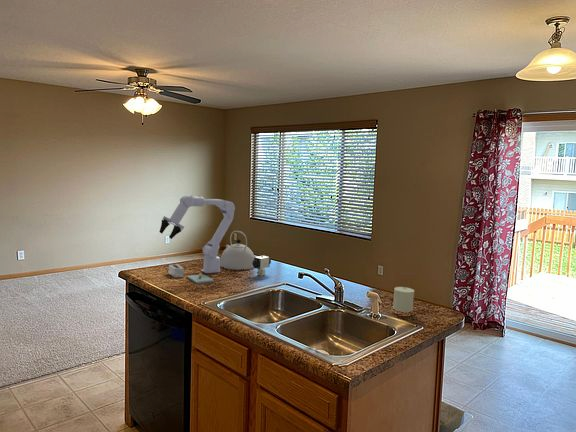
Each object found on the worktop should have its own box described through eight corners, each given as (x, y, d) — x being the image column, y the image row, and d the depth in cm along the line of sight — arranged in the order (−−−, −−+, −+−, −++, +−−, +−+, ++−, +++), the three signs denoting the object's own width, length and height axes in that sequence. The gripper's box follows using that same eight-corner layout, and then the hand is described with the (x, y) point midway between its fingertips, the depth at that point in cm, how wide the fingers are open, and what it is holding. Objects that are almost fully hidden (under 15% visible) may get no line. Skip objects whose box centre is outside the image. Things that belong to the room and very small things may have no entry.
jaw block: (177, 272, 252) (177, 264, 252) (183, 276, 244) (183, 268, 243) (168, 273, 249) (168, 264, 249) (174, 277, 241) (174, 268, 241)
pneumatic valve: (270, 274, 261) (271, 254, 260) (257, 277, 252) (258, 257, 251) (263, 272, 264) (264, 253, 263) (250, 275, 255) (251, 255, 254)
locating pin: (201, 277, 241) (201, 273, 241) (202, 278, 240) (202, 273, 240) (198, 277, 240) (198, 273, 240) (199, 278, 239) (199, 273, 239)
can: (411, 311, 206) (414, 287, 205) (412, 317, 197) (415, 292, 196) (392, 309, 208) (394, 284, 207) (392, 315, 199) (394, 289, 198)
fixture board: (203, 275, 249) (203, 274, 249) (213, 281, 237) (213, 280, 237) (187, 277, 243) (187, 275, 243) (196, 283, 232) (196, 281, 231)
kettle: (211, 263, 282) (212, 228, 279) (239, 259, 297) (240, 227, 294) (233, 271, 263) (235, 234, 261) (262, 267, 279) (264, 232, 276)
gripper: (165, 207, 243) (152, 228, 240) (184, 217, 237) (171, 238, 234) (171, 212, 249) (159, 232, 247) (190, 221, 243) (177, 242, 241)
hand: (165, 235), depth 241 cm, fingers open, 7 cm apart
